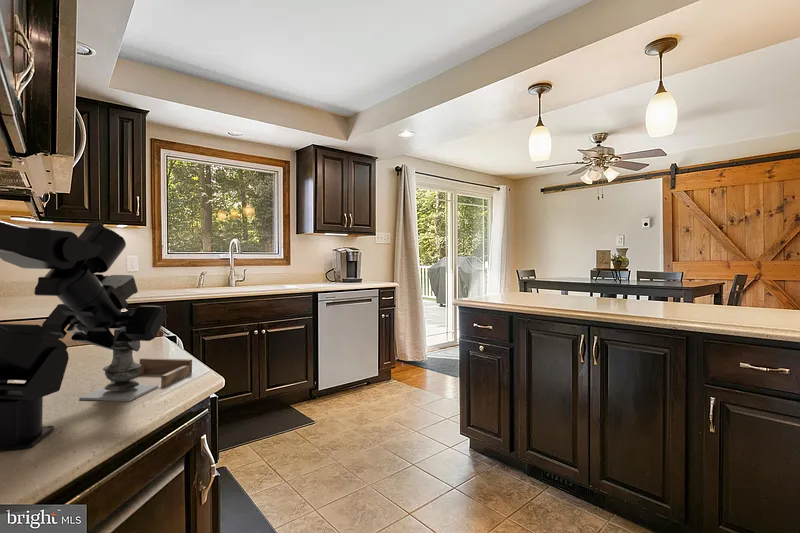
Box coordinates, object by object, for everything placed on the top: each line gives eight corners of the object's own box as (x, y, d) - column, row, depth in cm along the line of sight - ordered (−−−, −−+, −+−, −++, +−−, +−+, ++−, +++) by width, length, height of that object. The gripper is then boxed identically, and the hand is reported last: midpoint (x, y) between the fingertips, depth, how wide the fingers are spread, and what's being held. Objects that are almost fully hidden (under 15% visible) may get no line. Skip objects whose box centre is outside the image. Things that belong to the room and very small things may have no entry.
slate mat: (130, 401, 72) (130, 398, 72) (79, 399, 72) (79, 397, 72) (158, 387, 80) (158, 385, 80) (112, 386, 80) (112, 384, 80)
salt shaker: (121, 392, 73) (123, 323, 73) (94, 389, 74) (95, 322, 74) (148, 383, 79) (149, 319, 79) (122, 380, 80) (123, 318, 80)
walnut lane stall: (166, 386, 81) (166, 370, 81) (111, 384, 81) (111, 369, 81) (191, 373, 90) (192, 359, 90) (142, 371, 91) (142, 358, 91)
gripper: (162, 260, 72) (193, 316, 83) (57, 258, 73) (102, 314, 84) (130, 310, 64) (170, 364, 75) (13, 307, 65) (69, 361, 76)
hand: (128, 348), depth 78 cm, fingers closed on salt shaker, 3 cm apart
